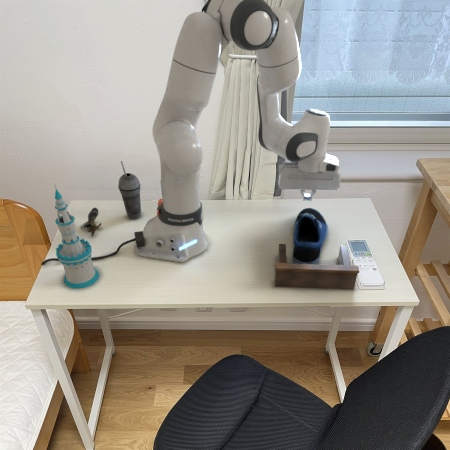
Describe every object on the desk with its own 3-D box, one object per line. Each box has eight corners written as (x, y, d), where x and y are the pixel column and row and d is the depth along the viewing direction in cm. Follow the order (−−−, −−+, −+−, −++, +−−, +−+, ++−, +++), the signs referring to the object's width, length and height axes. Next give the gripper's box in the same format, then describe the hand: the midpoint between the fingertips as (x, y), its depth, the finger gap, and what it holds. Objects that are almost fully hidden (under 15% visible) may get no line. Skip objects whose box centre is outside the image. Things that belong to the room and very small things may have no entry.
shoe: (328, 219, 155) (333, 186, 146) (324, 274, 133) (330, 239, 125) (296, 216, 156) (299, 183, 148) (287, 270, 135) (290, 235, 126)
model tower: (64, 269, 136) (35, 176, 116) (99, 264, 138) (75, 172, 118) (63, 290, 129) (31, 195, 109) (99, 285, 130) (74, 190, 110)
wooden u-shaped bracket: (273, 287, 129) (274, 268, 124) (273, 257, 139) (274, 238, 135) (355, 290, 127) (359, 271, 123) (348, 259, 138) (352, 240, 133)
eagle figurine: (109, 230, 150) (103, 212, 155) (94, 218, 144) (89, 200, 149) (92, 243, 151) (87, 225, 156) (76, 232, 146) (71, 214, 151)
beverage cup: (143, 221, 155) (134, 166, 142) (122, 222, 155) (111, 166, 142) (146, 210, 161) (138, 156, 147) (125, 210, 161) (116, 156, 148)
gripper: (279, 165, 145) (276, 204, 154) (344, 166, 144) (337, 205, 153) (278, 156, 150) (276, 194, 159) (342, 157, 149) (335, 196, 158)
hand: (306, 200), depth 156 cm, fingers closed
